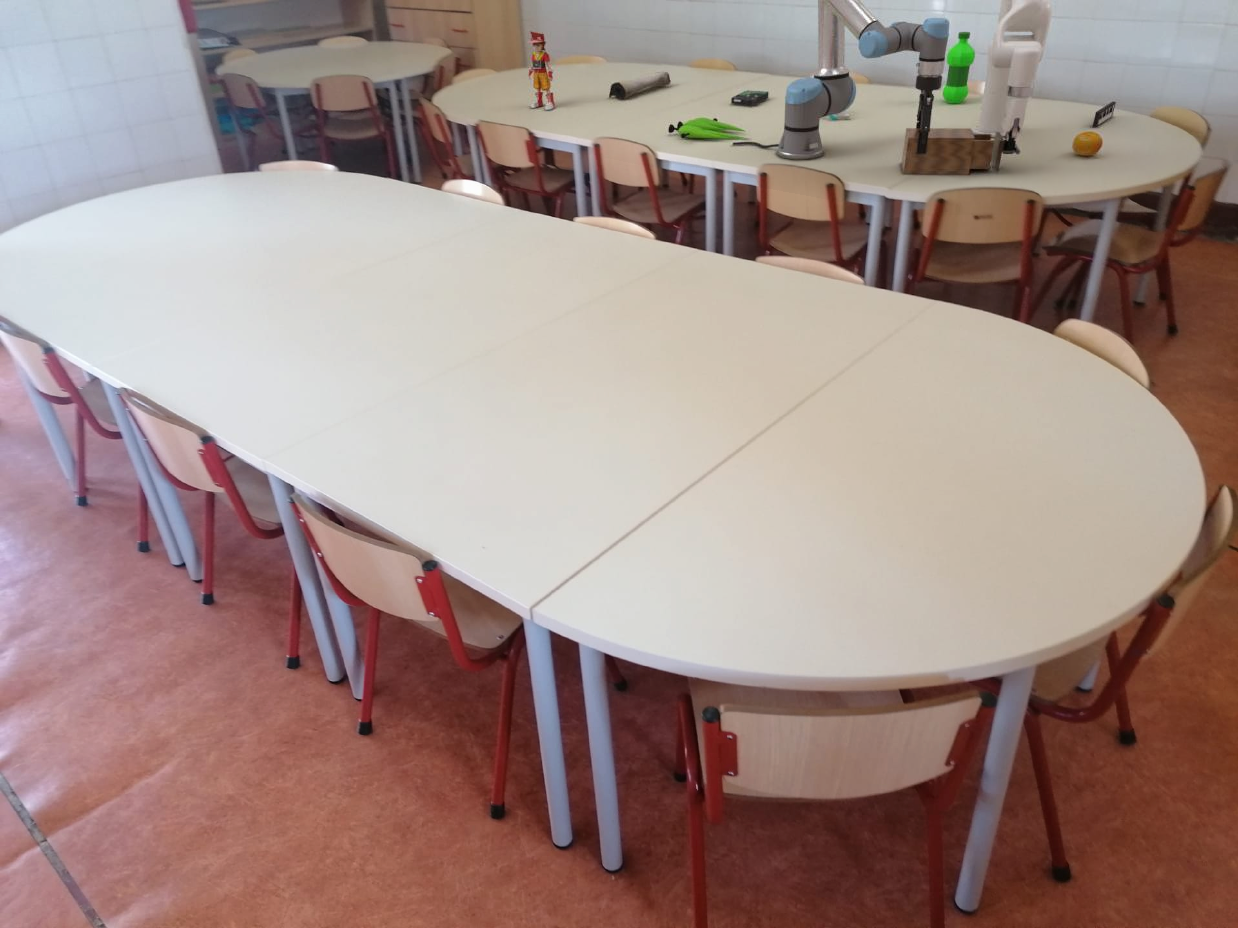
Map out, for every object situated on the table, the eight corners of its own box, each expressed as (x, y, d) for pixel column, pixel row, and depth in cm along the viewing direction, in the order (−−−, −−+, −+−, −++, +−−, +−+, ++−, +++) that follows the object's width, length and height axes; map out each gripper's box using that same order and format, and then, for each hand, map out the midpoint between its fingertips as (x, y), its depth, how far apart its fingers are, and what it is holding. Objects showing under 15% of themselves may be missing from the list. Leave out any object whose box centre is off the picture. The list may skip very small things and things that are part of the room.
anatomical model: (813, 89, 348) (838, 82, 348) (816, 116, 354) (841, 109, 353) (823, 98, 336) (849, 91, 335) (826, 126, 342) (852, 119, 341)
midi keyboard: (1096, 127, 316) (1099, 112, 313) (1092, 126, 317) (1095, 112, 314) (1112, 116, 326) (1116, 101, 323) (1108, 115, 327) (1112, 101, 324)
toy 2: (657, 137, 330) (731, 151, 317) (658, 122, 327) (732, 136, 314) (693, 125, 350) (763, 137, 338) (694, 111, 347) (764, 123, 335)
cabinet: (964, 164, 290) (970, 128, 284) (968, 174, 281) (974, 138, 275) (901, 163, 294) (906, 128, 288) (903, 173, 285) (908, 137, 279)
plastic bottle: (973, 101, 354) (984, 32, 339) (955, 106, 349) (966, 36, 335) (952, 97, 361) (962, 29, 346) (934, 102, 356) (944, 33, 342)
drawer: (1012, 162, 286) (1018, 132, 281) (1017, 171, 279) (1023, 141, 273) (934, 161, 291) (938, 132, 286) (936, 170, 283) (941, 140, 278)
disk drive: (753, 107, 365) (768, 98, 375) (754, 100, 363) (769, 91, 373) (730, 105, 370) (746, 96, 380) (730, 98, 368) (746, 89, 378)
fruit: (1068, 146, 288) (1086, 124, 285) (1065, 149, 295) (1083, 127, 292) (1091, 161, 286) (1109, 138, 283) (1087, 163, 294) (1105, 141, 291)
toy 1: (525, 109, 381) (517, 32, 364) (534, 104, 388) (527, 28, 371) (550, 110, 377) (543, 32, 360) (559, 105, 384) (553, 28, 367)
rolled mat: (651, 76, 408) (662, 61, 399) (662, 93, 408) (674, 79, 400) (605, 92, 391) (616, 77, 383) (617, 110, 391) (628, 95, 383)
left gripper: (914, 67, 283) (905, 138, 295) (919, 83, 264) (909, 159, 276) (939, 66, 281) (929, 138, 294) (946, 83, 263) (935, 159, 275)
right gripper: (1002, 86, 277) (992, 146, 287) (1009, 97, 265) (997, 160, 275) (1028, 86, 275) (1016, 147, 286) (1036, 97, 263) (1023, 160, 274)
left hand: (919, 148), depth 285 cm, fingers closed on cabinet, 11 cm apart
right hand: (1007, 153), depth 281 cm, fingers closed
